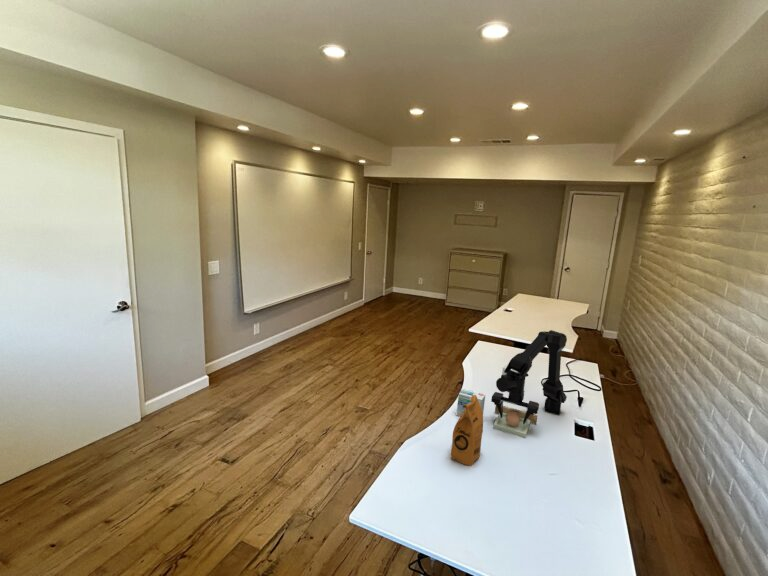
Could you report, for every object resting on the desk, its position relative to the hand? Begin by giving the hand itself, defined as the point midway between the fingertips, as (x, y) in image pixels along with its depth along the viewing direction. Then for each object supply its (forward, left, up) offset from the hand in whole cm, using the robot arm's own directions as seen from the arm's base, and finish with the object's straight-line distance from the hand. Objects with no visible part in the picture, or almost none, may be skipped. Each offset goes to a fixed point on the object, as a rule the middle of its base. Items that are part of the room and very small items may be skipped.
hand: (512, 420), depth 164 cm
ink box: (+8, -40, -3) cm, 41 cm away
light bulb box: (+18, +2, -3) cm, 18 cm away
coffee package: (+11, +32, -3) cm, 34 cm away
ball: (0, 0, -2) cm, 2 cm away
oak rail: (0, -8, -2) cm, 8 cm away
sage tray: (0, 0, -2) cm, 2 cm away
